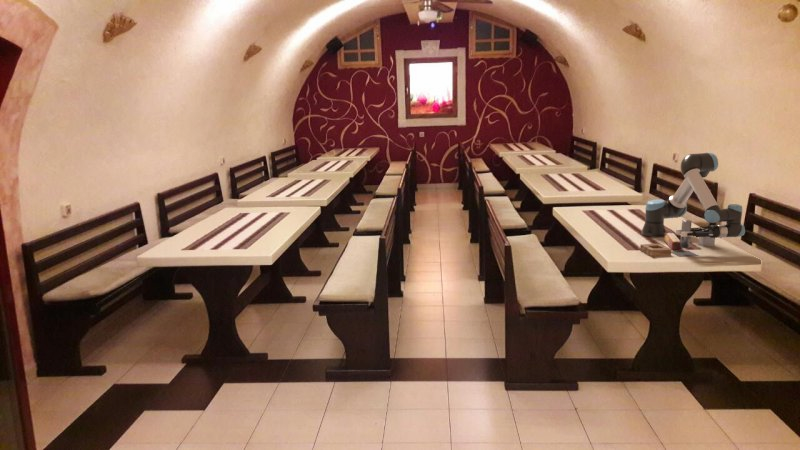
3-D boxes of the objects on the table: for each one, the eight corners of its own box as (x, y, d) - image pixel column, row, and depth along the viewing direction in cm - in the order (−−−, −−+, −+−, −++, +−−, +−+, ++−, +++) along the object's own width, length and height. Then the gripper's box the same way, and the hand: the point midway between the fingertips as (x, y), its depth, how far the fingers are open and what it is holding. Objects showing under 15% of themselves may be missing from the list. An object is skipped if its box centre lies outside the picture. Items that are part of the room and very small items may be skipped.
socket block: (640, 250, 354) (640, 244, 354) (659, 249, 355) (659, 243, 354) (651, 256, 341) (651, 250, 340) (670, 255, 341) (671, 249, 341)
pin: (678, 245, 345) (680, 219, 341) (686, 245, 345) (688, 219, 342) (682, 248, 340) (685, 221, 336) (691, 247, 340) (693, 221, 337)
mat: (668, 252, 349) (668, 251, 349) (688, 251, 350) (688, 250, 350) (679, 257, 338) (679, 256, 338) (699, 256, 338) (699, 255, 338)
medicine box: (710, 244, 364) (711, 230, 362) (714, 246, 360) (715, 232, 358) (698, 244, 364) (699, 231, 362) (702, 246, 359) (703, 233, 357)
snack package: (682, 251, 351) (683, 240, 349) (670, 251, 352) (671, 240, 351) (674, 242, 371) (675, 232, 369) (663, 242, 372) (664, 232, 371)
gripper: (725, 241, 334) (686, 243, 333) (707, 233, 351) (670, 235, 350) (726, 228, 332) (687, 230, 331) (708, 221, 350) (671, 223, 348)
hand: (678, 233), depth 340 cm, fingers closed on pin, 5 cm apart
